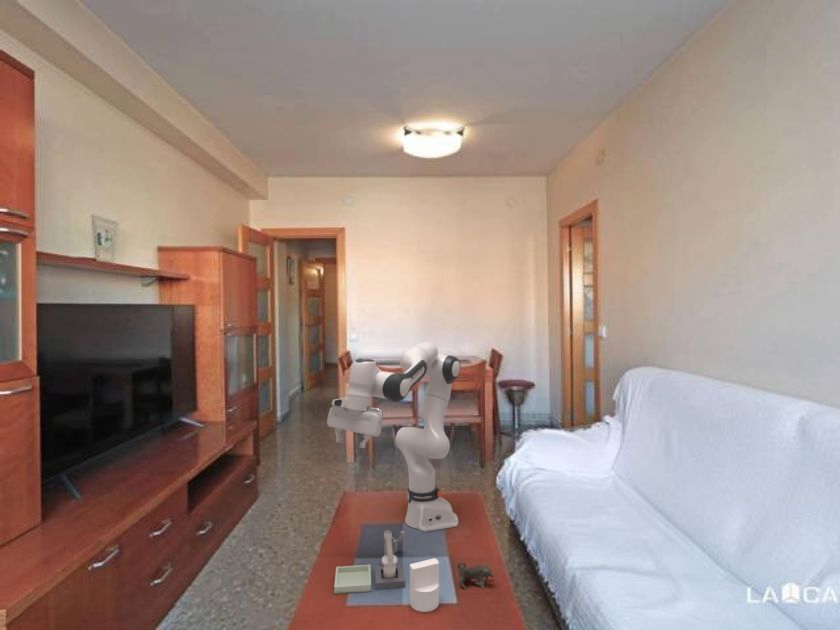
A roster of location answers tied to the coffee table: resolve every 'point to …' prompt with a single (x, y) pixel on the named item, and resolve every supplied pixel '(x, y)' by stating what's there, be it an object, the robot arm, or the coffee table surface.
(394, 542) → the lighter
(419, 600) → the cylinder with rectangular tab
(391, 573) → the plug
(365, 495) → the coffee table surface
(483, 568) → the dog figurine
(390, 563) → the grey square bar
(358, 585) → the tray
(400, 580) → the socket
